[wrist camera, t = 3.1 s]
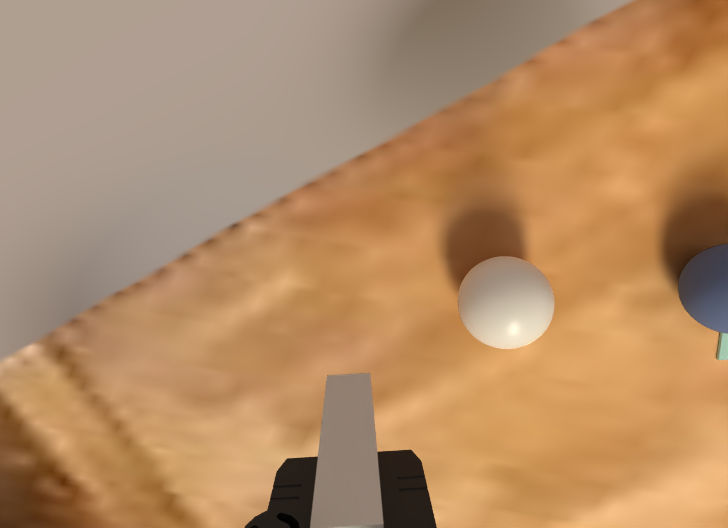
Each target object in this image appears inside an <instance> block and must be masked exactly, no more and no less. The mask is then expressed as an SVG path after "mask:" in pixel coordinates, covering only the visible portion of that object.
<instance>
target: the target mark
mask: <svg viewBox="0 0 728 528" xmlns="http://www.w3.org/2000/svg"><path fill="white" fill-rule="evenodd" d="M716 359H718V360H728V334H726V333H721V332H720V337H719V344H718V351H717V358H716Z"/></svg>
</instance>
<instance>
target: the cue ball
mask: <svg viewBox="0 0 728 528" xmlns="http://www.w3.org/2000/svg"><path fill="white" fill-rule="evenodd" d="M457 303H458V311H459V315H460V318H461V320H462V322H463V324H464V326H465V327H466V329H467V330H468V331H469V332H470V333H471V334H472V335H473V336H474V337H475V338H476V339H478V340H479V341H481V342H483V343H484V344H486V345H489V346H491V347H495V348H500V349H514V348H519V347H523V346H526V345H528V344H530V343H532V342H533V341H535V340H536V339H538V338H539V337H540V336H541V335H542V334H543V333H544V332H545V330H546V329H547V328H548V326H549V324H550V322H551V320H552V317H553V313H554V294H553V291H552V288H551V285H550V283H549V281H548V280H547V278H546V277H545V275H544V274H543V273H542V272H541V271H540V270H539V269H538V268H537V267H535V266H534V265H533V264H531V263H529V262H527V261H525V260H523V259H520V258H516V257H510V256H499V257H493V258H490V259H487V260H484V261H482V262H481V263H479V264H477V265H476V266H474V267H473V268H472V269H471V270H470V271H469V272H468V273H467V275H466V276H465V278H464V279H463V281H462V283H461V285H460V288H459V292H458V299H457Z"/></svg>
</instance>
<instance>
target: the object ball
mask: <svg viewBox="0 0 728 528" xmlns="http://www.w3.org/2000/svg"><path fill="white" fill-rule="evenodd" d="M678 292H679V297H680V300H681V303H682V305H683V306H684V308H685V310H686V311H687V312H688V313H689V314H690V316H691V317H692V318H694V319H695V320H696V321H697V322H699V323H700V324H702V325H704V326H705V327H707V328H710V329H712V330H715V331H718V332H721V333H726V334H728V244H722V245H717V246H714V247H711V248H708V249H706V250H704V251H702V252H700V253H699V254H697V255H696V256H694V257H693V258H692V259H691V260H690V261H689V262H688V263H687V264H686V266H685V267H684V269H683V270H682V272H681V275H680V278H679V282H678Z"/></svg>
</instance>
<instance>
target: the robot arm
mask: <svg viewBox="0 0 728 528" xmlns="http://www.w3.org/2000/svg"><path fill="white" fill-rule="evenodd" d="M245 528H437V527H436V523H435V518H434V514H433V510H432V505H431V501H430V497H429V492H428V489H427V484H426V479H425V475H424V471H423V466H422V462H421V460H420V459H419V458H418V457H417V456H416V455H415V454H414V452H413V451H412V450H399V451H383V452H377V444H376V433H375V422H374V410H373V399H372V388H371V376H370V373H360V374H343V375H327V381H326V390H325V399H324V408H323V417H322V425H321V434H320V443H319V452H318V457H305V458H288V459H286V461H285V462H284V463H283V464H282V466H281V467H280V468H279V469H278V471H277V473H276V477H275V481H274V485H273V489H272V494H271V498H270V502H269V506H268V510H267V511H265V512H263V513H261V514H260V515H258V516H256V517H254V518H253V519H252V520H251V521H250V522H249V523H248V524H247V525H246V526H245Z"/></svg>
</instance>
